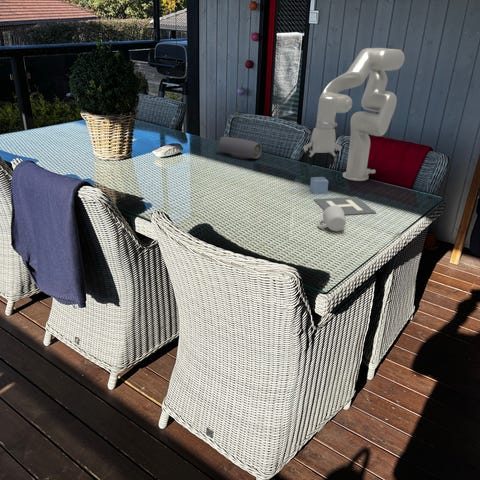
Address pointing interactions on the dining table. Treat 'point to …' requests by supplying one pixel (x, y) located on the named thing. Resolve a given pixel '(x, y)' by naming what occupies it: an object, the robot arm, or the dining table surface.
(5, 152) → the dining table surface
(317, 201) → the letter mat
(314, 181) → the cube
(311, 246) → the dining table surface
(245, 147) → the bluetooth speaker
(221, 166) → the dining table surface
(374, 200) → the dining table surface
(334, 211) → the cup
